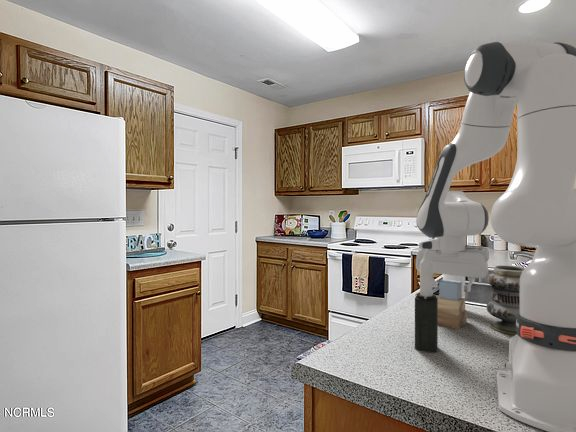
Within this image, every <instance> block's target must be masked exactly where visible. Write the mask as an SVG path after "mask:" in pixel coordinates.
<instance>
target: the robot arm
mask: <svg viewBox="0 0 576 432" xmlns="http://www.w3.org/2000/svg"><path fill="white" fill-rule="evenodd" d="M463 80H464V84H465V86H466V89H468V91H469V94H468V97H467V100H466V102H465V106H464V110H463V114H462V117H461V124H460V126H459V130H458V132H457V134H456V135H455V137H454V139H453V140H452V141H451V142H450V143H449V144H447V145H445V146H444V147H443V149H442V151H441V153H440V154H439V157H438V160H437V163H436V165H435V168H434V171H433V173H432V176H431V179H430V182H429V185H428V188H427V191H426V193H425V197H424V198H423V200H422V203H421V204H420V207H419V209H418V211H417V214H416V225H417V228H418V229H419V230H420V232H421V234H423V235H425V236H426V237H428V238H429V239H427V240H423V241H420V242H419V243H418V248H419V250H418V251H417V253H416V257H415V269H416V270H417V272H420V262H421V260H422V259H423V257H424V253H425V249H427V250H428V255H429V258H430V260H431V262H432V288H439V283H438V281H437V280H435V278H434V276H435V274H439V275H443V274H447V275H456V276H465V278H466V277H467V281H468V283H467V284H465V285H464V291H465V293H470V292H472V291H471V289H472V288H471V286H472V285H473V284H474V282H475V280H476V279H485V278H488V276H489V264H488V261H489V259H490V252H489V249H488V248H486V247H484V246H483V245H471V244H470V245H469V244H467V242H468V241H467V237H468V236H470V237H471V236H478V235H481V234H482V233H483V232H485V230H486V229H487V227H488V226H489V220H490V222H491V227H492V229H493V231H494V233H495V234H496V236H497V237H499V239H501V240H503V241H504V242H506V243H509V244H513V245H516V246H517V245H518V246H521V247H527V248H536V249H535V251H534V254H533V257H532V259H531V261H530V263H529V264H527V266H526V267H524V268H525V269H524V270H523V272H522V273H521V276H520V312H519V313H517V320H516V333H517V334H516V335H513V336H511V337H510V338H509V339H508V342H509V343H508V361H506V362H505V363H504V368H505V369H506V370H498V371H496V389H497V390H496V391H497V404H498V410H499V411H500V412H502V413H504V414H505V415H507V416H509V417H511V418H512V419H514V420H517V421H519V422H522V423H523V424H526V425H529V426H530V427H531V426H532V427H533V428H537V429H540V430H543V431H546V432H576V188H575V181H576V47H575V46H573V45H571V44H568V43H564V42H559V41H558V42H553V43H552V42H544V41H531V40H514V41H513V40H512V41H506V42H505V41H503V42H499V41H494V42H492V41H491V42H489V43H483V44H481V45H479V46H477V47H475V49H474V50H473V51H472V52H471V53H470V54H469V56H468V58H467V60H466V63H465V67H464V70H463ZM515 109H516V123H517V126H516V127H517V130H516V132H517V137H516V138H517V157H516V163H515V166H514V171H513V175H512V177H511V180H510V182H509V185H508V187H507V188H506V190H505V191H504V193H502V195H500V196H499V197H498V199H496V201H495V202H494V203H493V205H492V208H491V210H490V218H489V212H488V210H487V208H486V207H485V205H483V204H482V203H480V202H478V201H474V200H471V199H470V198H468V197H467V196H466V194H465V192H464V191H462V190H456V189H455V190H454V189H453V190H450V187H451V185H452V183H453V179H454V178H455V176H456V175H457V174H458V173H459V172H461V171H462V170H464V169H465V168H468V167H469V166H472V165H474V164H476V163H480V162H483V161H485V160H488V159H491V158H492V157H494V156H496V155H497V154H498V153H500V152H501V151H502V150H503V148H504V147H505V145H506V144H507V141H508V139H509V136H510V132H511V127H512V122H513V119H514V113H515Z"/></svg>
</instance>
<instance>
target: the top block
mask: <svg viewBox="0 0 576 432" xmlns="http://www.w3.org/2000/svg"><path fill="white" fill-rule="evenodd" d="M436 297H437V298H438V312H441V313H447V314H452V315H458V316H459V315H460V314H461V313H462V312H464V311H465V310H466V296H465V297H462V298H460V299H459V300H458V301H454V300H447V299H441V298H439V295H436Z"/></svg>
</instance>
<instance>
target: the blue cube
mask: <svg viewBox="0 0 576 432" xmlns="http://www.w3.org/2000/svg"><path fill="white" fill-rule="evenodd" d="M438 288H439V289H438V290H439V292H438V293H439V298H441V299H447V300H454V301H458V300H459V299H460V298H462V281H454V280H446V279H444V280H443V279H442V280H440V281H439V283H438Z"/></svg>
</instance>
